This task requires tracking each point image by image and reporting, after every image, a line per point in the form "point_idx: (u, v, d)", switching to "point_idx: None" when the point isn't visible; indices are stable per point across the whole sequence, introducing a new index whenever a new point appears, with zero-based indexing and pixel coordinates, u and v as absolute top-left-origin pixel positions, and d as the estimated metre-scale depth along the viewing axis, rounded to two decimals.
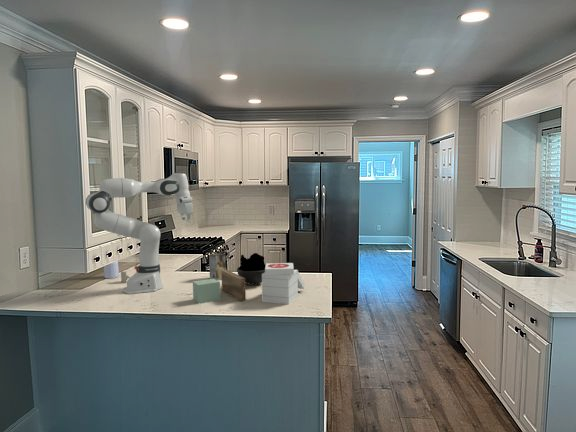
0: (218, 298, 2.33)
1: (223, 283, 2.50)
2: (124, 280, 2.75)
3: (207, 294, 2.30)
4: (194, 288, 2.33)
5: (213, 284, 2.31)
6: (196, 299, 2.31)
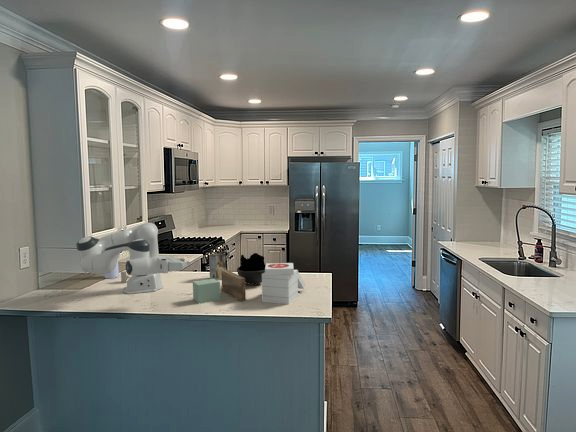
0: (218, 298, 2.33)
1: (223, 283, 2.50)
2: (124, 280, 2.75)
3: (207, 294, 2.30)
4: (194, 288, 2.33)
5: (213, 284, 2.31)
6: (196, 299, 2.31)
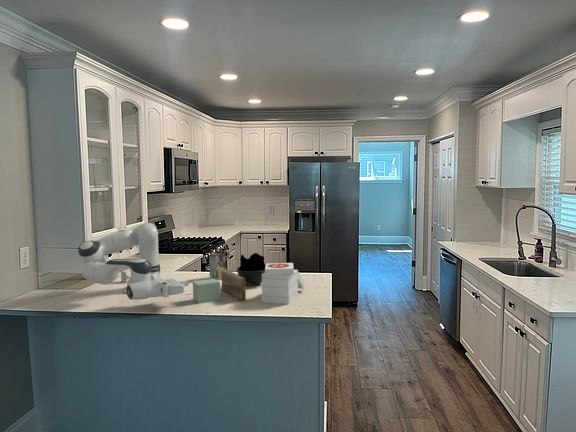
0: (218, 298, 2.33)
1: (223, 283, 2.50)
2: (124, 280, 2.75)
3: (207, 294, 2.30)
4: (194, 288, 2.33)
5: (213, 284, 2.31)
6: (196, 299, 2.31)
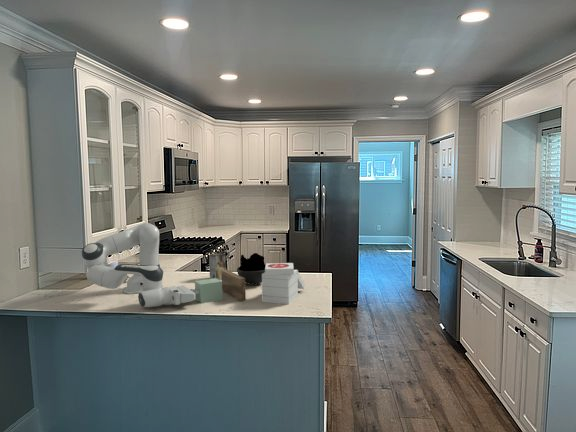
0: (220, 298, 2.34)
1: (223, 283, 2.50)
2: (124, 280, 2.75)
3: (209, 293, 2.30)
4: (196, 287, 2.33)
5: (215, 284, 2.32)
6: (198, 298, 2.31)
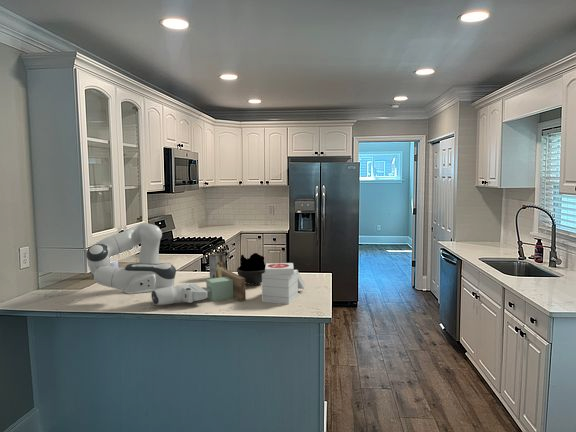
0: (231, 296, 2.37)
1: None
2: None
3: (221, 291, 2.34)
4: (208, 286, 2.37)
5: (226, 282, 2.35)
6: (210, 297, 2.35)
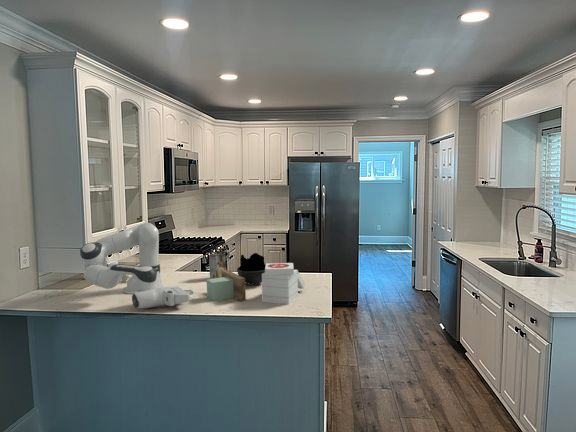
0: (232, 296, 2.37)
1: None
2: (124, 280, 2.75)
3: (221, 291, 2.34)
4: (208, 286, 2.37)
5: (227, 282, 2.35)
6: (210, 297, 2.35)
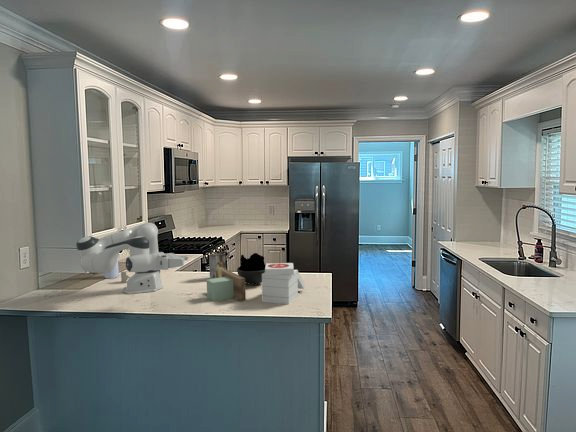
0: (232, 296, 2.37)
1: None
2: (124, 280, 2.75)
3: (221, 291, 2.34)
4: (208, 286, 2.37)
5: (227, 282, 2.35)
6: (210, 297, 2.35)
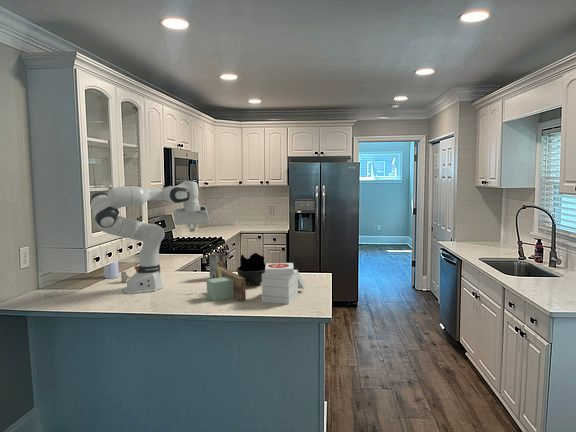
0: (231, 296, 2.37)
1: None
2: (124, 280, 2.75)
3: (221, 291, 2.34)
4: (208, 286, 2.37)
5: (227, 282, 2.35)
6: (210, 297, 2.35)
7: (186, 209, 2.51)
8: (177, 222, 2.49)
